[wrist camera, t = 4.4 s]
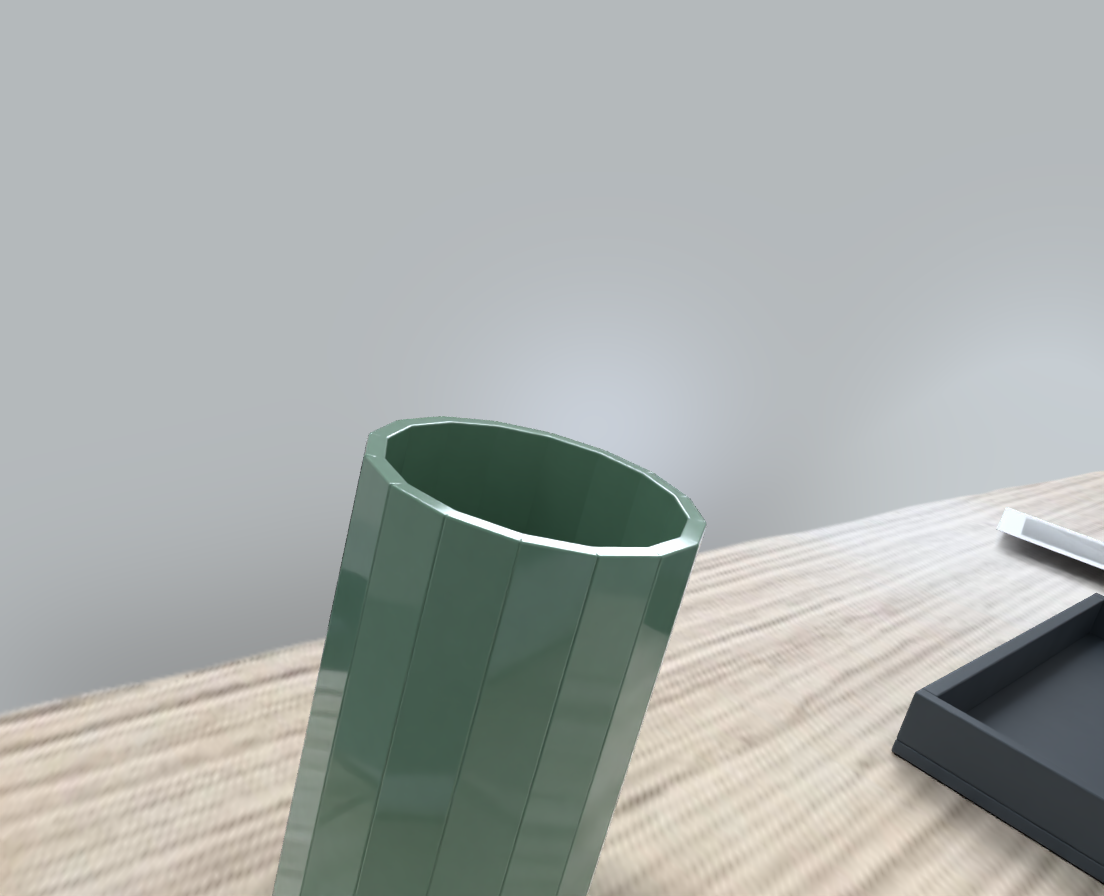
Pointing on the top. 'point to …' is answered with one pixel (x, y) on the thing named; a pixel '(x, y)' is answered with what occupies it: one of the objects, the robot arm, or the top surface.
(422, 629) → the tumbler
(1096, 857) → the tray
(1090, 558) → the touchpad
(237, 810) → the top surface
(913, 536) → the top surface
